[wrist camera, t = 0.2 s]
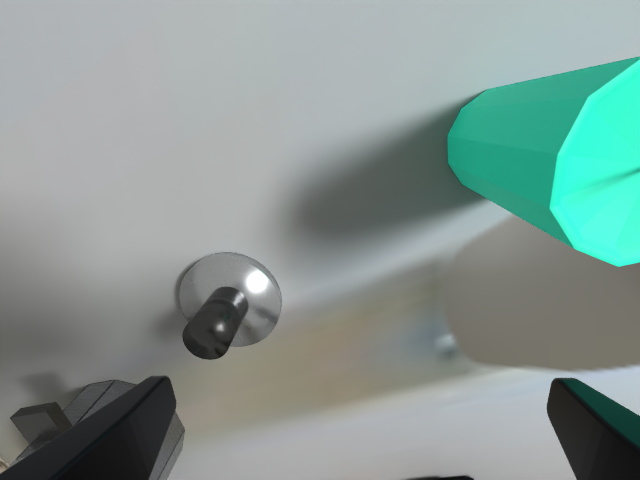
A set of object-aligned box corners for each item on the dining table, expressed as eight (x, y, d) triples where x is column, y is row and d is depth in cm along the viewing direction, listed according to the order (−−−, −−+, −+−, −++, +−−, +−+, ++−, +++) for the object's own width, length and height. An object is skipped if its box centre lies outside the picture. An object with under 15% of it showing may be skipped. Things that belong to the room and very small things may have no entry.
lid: (294, 328, 24) (282, 378, 20) (208, 345, 26) (176, 395, 21) (263, 240, 22) (240, 273, 18) (169, 263, 23) (125, 300, 19)
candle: (434, 187, 20) (546, 276, 9) (460, 78, 18) (653, 8, 7) (535, 200, 20) (785, 307, 8) (573, 91, 18) (975, 40, 6)
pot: (210, 476, 31) (176, 564, 25) (119, 487, 32) (66, 572, 26) (140, 348, 26) (77, 419, 20) (38, 369, 28) (-49, 439, 22)
